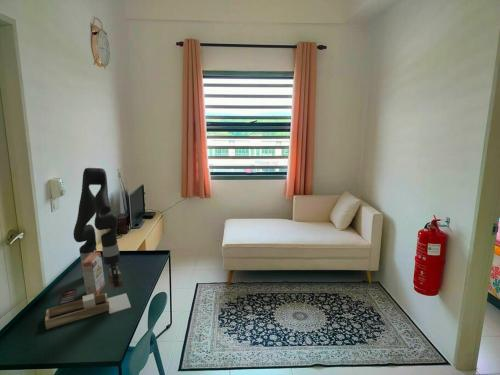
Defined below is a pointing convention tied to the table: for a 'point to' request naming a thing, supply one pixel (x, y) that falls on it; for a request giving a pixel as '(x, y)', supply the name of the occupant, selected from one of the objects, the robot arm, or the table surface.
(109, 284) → the walnut block
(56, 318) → the bin
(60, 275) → the table surface
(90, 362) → the table surface
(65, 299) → the smartphone
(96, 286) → the cracker box
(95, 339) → the table surface
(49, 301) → the table surface
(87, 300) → the cream block
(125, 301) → the pad
